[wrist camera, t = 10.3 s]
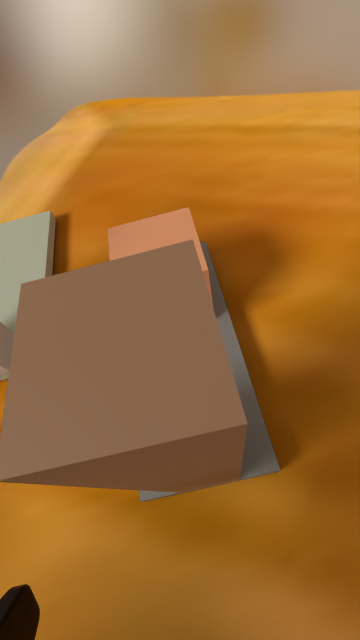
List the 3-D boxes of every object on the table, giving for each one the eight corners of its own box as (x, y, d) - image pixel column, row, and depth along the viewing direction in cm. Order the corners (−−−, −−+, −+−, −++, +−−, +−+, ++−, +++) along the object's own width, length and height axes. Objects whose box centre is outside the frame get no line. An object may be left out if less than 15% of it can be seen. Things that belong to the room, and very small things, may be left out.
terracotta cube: (214, 320, 19) (208, 269, 15) (139, 338, 19) (112, 294, 15) (198, 263, 22) (188, 207, 17) (132, 280, 22) (107, 228, 18)
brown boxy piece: (278, 472, 15) (428, 381, 3) (145, 501, 15) (-164, 517, 4) (206, 250, 24) (175, 0, 12) (122, 272, 24) (8, 50, 12)
